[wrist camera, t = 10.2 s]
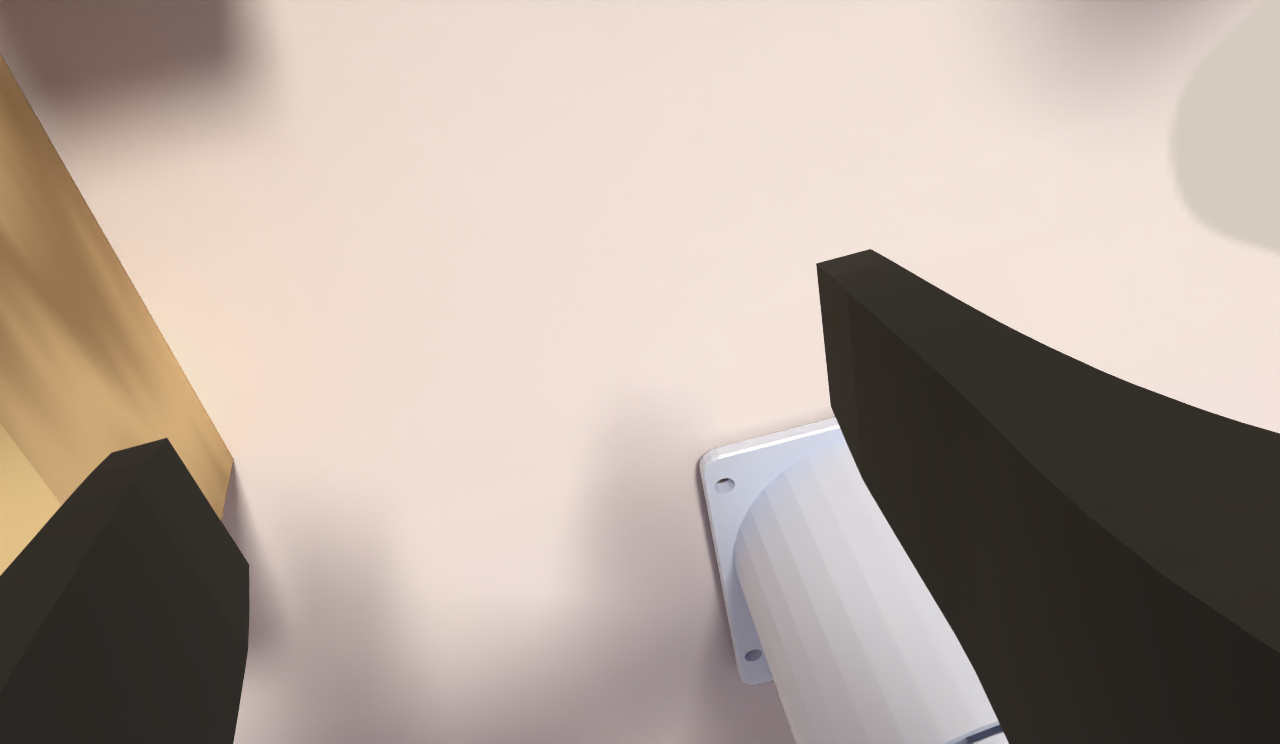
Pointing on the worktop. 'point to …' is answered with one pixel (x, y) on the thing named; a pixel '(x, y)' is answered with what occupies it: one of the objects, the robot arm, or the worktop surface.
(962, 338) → the robot arm
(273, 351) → the worktop surface
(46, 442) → the rail
